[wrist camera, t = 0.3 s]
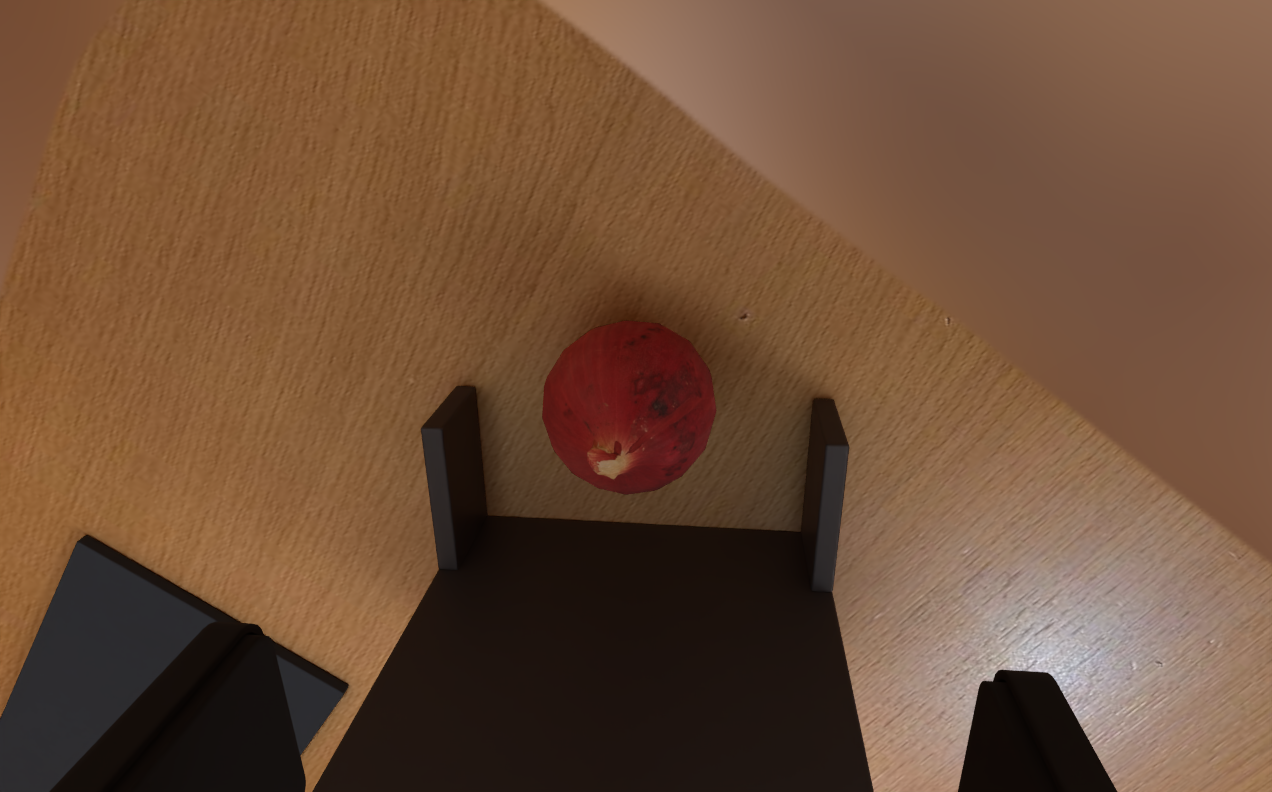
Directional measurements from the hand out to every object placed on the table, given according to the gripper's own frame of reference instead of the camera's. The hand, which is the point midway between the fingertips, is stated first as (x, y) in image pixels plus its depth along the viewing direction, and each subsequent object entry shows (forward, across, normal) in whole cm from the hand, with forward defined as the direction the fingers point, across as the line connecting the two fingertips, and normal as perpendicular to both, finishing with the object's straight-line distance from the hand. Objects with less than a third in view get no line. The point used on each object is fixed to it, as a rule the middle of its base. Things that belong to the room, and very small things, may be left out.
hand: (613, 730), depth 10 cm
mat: (+20, +29, +25) cm, 43 cm away
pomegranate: (+20, +2, +2) cm, 20 cm away
